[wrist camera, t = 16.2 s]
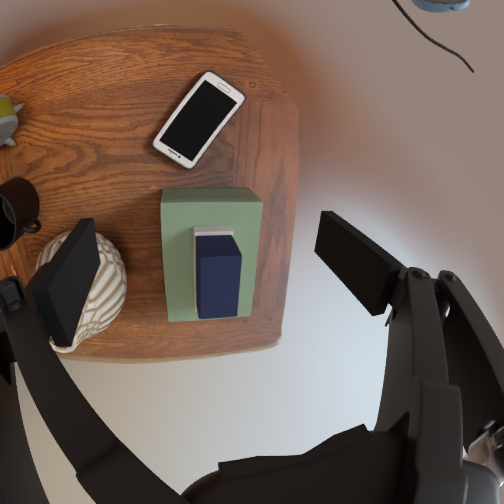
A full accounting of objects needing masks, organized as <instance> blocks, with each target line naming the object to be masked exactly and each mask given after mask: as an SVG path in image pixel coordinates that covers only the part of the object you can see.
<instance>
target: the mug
mask: <svg viewBox="0 0 504 504" xmlns="http://www.w3.org/2000/svg"><path fill="white" fill-rule="evenodd" d="M38 213H39V199H38V195H37V192H36V190H35V188H34V187H33V185H32V184H31V183H30V182H28V181H27V180H25V179H23V178H13V179H11V180H9V181H7V182H5V183H4V184H2V185H0V251H3V250H6V249H8V248H10V247H11V246H12V245H13V244H14V243H15V242H16V241H17V240H18V239H19V238H20V237H21V236H22V235H23V234H24V233H25V232H27V233H36V232H38V231H39V230H40V229H41V223H40V221H39V220H38V219H37V216H38ZM34 223H35V224H36V226H37V227H35V228H30V227H31V226H32V225H33V224H34Z"/></svg>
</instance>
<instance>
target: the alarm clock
mask: <svg viewBox="0 0 504 504" xmlns="http://www.w3.org/2000/svg"><path fill="white" fill-rule="evenodd" d="M24 106H25V105H24V103H21V104H19V105H16V106H13V105H12V102H11V100H10V99H9V97H8V96H6V95H0V147H1V146H2V145H3V144H7V145H10V146H13V147H15V146H16V142H15V141H14V140H13V139H12V138H11V136H12V134H13V133H14V132H15V130H16V128H17V126H18V117H17V115H16V113H17V112H18V111H19V110H20V109H22V108H23V107H24Z"/></svg>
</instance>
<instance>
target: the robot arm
mask: <svg viewBox="0 0 504 504" xmlns="http://www.w3.org/2000/svg"><path fill="white" fill-rule="evenodd" d="M392 1H393V2H394V3H395V5H396V6H397V7H398V9H399V10H400V11H401V12H402V13H403V15H404V16H405V17H406V18H407V19H408V20H409V22H410V23H411V24H412V25H413V26H414V27H415V28H416V29H417V30H418V31H419V32H420V33H421V34H422V35H423V36H424V37H425V38H427V39H428V40H429V41H431V42H432V43H434V44H435V45H437V46H439V47H441V48H443V49H444V50H446V51H448V52H450V53H452V54H454V55H456V56H457V57H459V58H460V59H461V60H462V61H463V62H464V63H465V64H466V65H467V67H468V68H469V69H470V70H471V71H472V72H473V73H474V70H473V69H472V68H471V67H470V65H469V64H468V63H467V62H466V61H465V59H464V58H463V57H461V56H460V55H459V54H458V53H456V52H454V51H452V50H450V49H448V48H446V47H445V46H443V45H442V44H440V43H438V42H436V41H434V40H433V39H431V38H430V37H429V36H428V35H426V34H425V33H424V32H423V31H422V30H421V29H420V28H419V27H418V26H417V25H416V24H415V23H414V21H413V20H412V19H411V18H410V17H409V16H408V14H407V13H406V12H405V11H404V10H403V8H402V7H401V6H400V5H399V3H398V2H397V1H396V0H392ZM412 2H413V3H414V4H415V5H416V6H417V7H418V8H420V9H422V10H424V11H428V12H450V11H451V10H453V11H457V10H461V9H464V8H466V7H467V6H468V5H469V3H470V2H469V0H412ZM314 251H315V253H316V254H317V255H318V256H319V257H320V258H321V259H322V260H323V261H324V262H325V264H326V265H327V266H328V267H329V268H330V269H331V270H332V271H333V272H334V273H335V275H337V277H338V278H339V279H340V280H341V281H342V282H343V283H344V284H345V286H346V287H347V288H348V289H349V290H350V291H351V292H352V294H353V295H354V296H355V297H356V298H357V299H358V300H359V301H360V303H361V304H362V305H363V306H364V307H365V308H366V309H367V311H368V312H369V313H370V314H371V315H372V316H376V315H380V314H384V312H385V310H386V307H387V305H388V303H389V304H390V305H391V306H392V307H393V308H392V310H391V312H390V315H389V317H388V319H387V322H386V324H385V326H387V324H389V336H388V348H387V358H386V367H385V375H384V382H383V389H382V396H381V402H380V407H379V413H378V418H377V422H376V426H375V428H374V430H373V431H368V430H367V428H366V426H365V425H364V424H361V425H359V426H356V427H354V428H351V429H349V430H346V431H343V432H341V433H338V434H335V435H333V436H332V437H330V438H328V439H327V440H325V441H324V442H322V443H321V444H319V445H318V446H316V447H314V448H313V449H311V450H309V451H308V452H306V453H304V454H301V455H291V456H255V457H250V458H245V459H239V460H233V461H226V462H219V463H218V468H219V470H218V471H215V472H212V473H210V474H208V475H206V476H204V477H202V478H200V479H199V480H197V481H195V482H194V483H193V484H191V485H190V486H189V487H188V488H187V489H186V490H185V491H184V492H183V493H182V494H181V495H179V494H178V493H177V492H175V491H174V490H173V489H171V488H170V487H169V486H168V485H167V484H166V483H164V482H163V481H162V480H161V479H160V478H159V477H158V476H156V475H155V474H154V473H153V472H152V471H151V470H150V469H149V468H148V467H147V466H145V465H144V464H143V463H142V462H141V461H140V460H139V459H138V458H137V457H136V456H135V455H134V454H133V453H132V452H131V451H130V450H129V449H128V448H127V447H126V446H125V445H124V444H123V443H122V442H121V441H120V440H119V439H118V438H117V437H116V436H115V435H114V434H113V432H112V431H111V430H110V429H109V428H108V427H107V425H106V424H105V423H104V422H103V421H102V419H101V418H100V417H99V416H98V415H97V413H96V412H95V411H94V409H93V408H92V407H91V405H90V404H89V403H88V402H87V400H86V399H85V397H84V396H83V395H82V393H81V392H80V390H79V389H78V388H77V386H76V385H75V383H74V382H73V380H72V379H71V377H70V376H69V374H68V373H67V371H66V370H65V368H64V366H63V365H62V363H61V361H60V360H59V358H58V356H57V355H56V353H55V351H54V350H53V348H52V346H51V344H50V342H49V339H50V336H51V337H52V339H53V342H54V344H55V346H60V347H72V343H73V340H74V336H75V333H76V330H77V327H78V324H79V320H80V317H81V314H82V311H83V309H84V306H85V303H86V300H87V297H88V295H89V292H90V289H91V287H92V284H93V281H94V279H95V276H96V274H97V271H98V269H99V267H100V264H101V260H100V255H99V250H98V244H97V239H96V232H95V226H94V219H93V218H87V219H81V220H80V221H79V222H78V224H77V225H76V226H75V227H74V229H73V230H72V231H71V232H70V234H69V235H68V236H67V238H66V239H65V240H64V242H63V243H62V244H61V246H60V247H59V249H58V250H57V251H56V253H55V254H54V256H53V257H52V258H51V260H50V261H49V262H45V263H44V264H43V265H42V266H40V267H39V268H38V269H37V271H36V272H35V274H34V276H33V277H32V278H31V280H30V281H29V283H28V284H27V286H26V287H25V289H24V287H23V284H22V282H21V279H20V278H19V277H17V276H10V277H7V278H5V279H3V280H1V281H0V310H1V312H0V504H50V503H49V501H48V499H47V496H46V494H45V492H44V489H43V487H42V484H41V482H40V479H39V477H38V473H37V471H36V468H35V465H34V462H33V459H32V455H31V452H30V448H29V445H28V441H27V438H26V433H25V429H24V425H23V421H22V416H21V410H20V405H19V399H18V392H17V385H16V377H15V367H14V362H17V363H18V366H19V368H20V371H21V374H22V376H23V378H24V381H25V383H26V385H27V387H28V390H29V392H30V394H31V396H32V398H33V400H34V402H35V404H36V406H37V408H38V410H39V412H40V414H41V416H42V418H43V420H44V421H45V423H46V425H47V427H48V428H49V430H50V432H51V434H52V435H53V437H54V438H55V440H56V442H57V443H58V445H59V447H60V448H61V449H62V451H63V453H64V454H65V456H66V457H67V458H68V460H69V461H70V463H71V464H72V465H73V467H74V469H75V470H76V472H77V473H76V477H77V479H78V481H79V482H80V484H81V485H82V487H83V488H84V489H85V491H86V492H87V493H88V494H89V495H90V497H91V498H92V499H93V500H94V501H95V503H96V504H501V498H500V488H501V486H502V485H503V484H504V349H503V347H502V345H501V343H500V341H499V339H498V338H497V336H496V334H495V332H494V331H493V329H492V327H491V326H490V324H489V322H488V321H487V319H486V317H485V316H484V314H483V313H482V311H481V310H480V308H479V306H478V305H477V303H476V302H475V300H474V299H473V297H472V296H471V294H470V293H469V292H468V290H467V289H466V287H465V286H464V284H463V283H462V282H461V280H460V279H459V278H458V277H457V276H456V275H455V274H454V273H453V272H450V271H445V270H442V271H440V273H439V275H438V278H437V279H433V278H431V277H430V275H429V274H428V273H427V272H425V271H424V270H422V269H420V268H416V267H409V268H406V267H405V266H404V265H403V264H402V263H400V262H399V261H398V260H397V259H395V258H394V257H393V256H392V255H390V254H389V253H388V252H387V251H385V250H384V249H383V248H382V247H380V246H379V245H378V244H376V243H375V242H374V241H372V240H371V239H370V238H368V237H367V236H366V235H365V234H363V233H362V232H360V231H359V230H357V229H356V228H355V227H354V226H352V225H351V224H350V223H348V222H347V221H345V220H344V219H343V218H341V217H340V216H338V215H337V214H336V213H334V212H333V211H322V212H321V217H320V223H319V229H318V234H317V240H316V245H315V250H314ZM449 306H450V311H449V314H448V316H447V317H446V315H445V314H446V312H447V310H448V307H449ZM463 446H464V449H465V451H466V453H467V455H466V456H465V457H464V458H463ZM462 458H463V459H462Z"/></svg>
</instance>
